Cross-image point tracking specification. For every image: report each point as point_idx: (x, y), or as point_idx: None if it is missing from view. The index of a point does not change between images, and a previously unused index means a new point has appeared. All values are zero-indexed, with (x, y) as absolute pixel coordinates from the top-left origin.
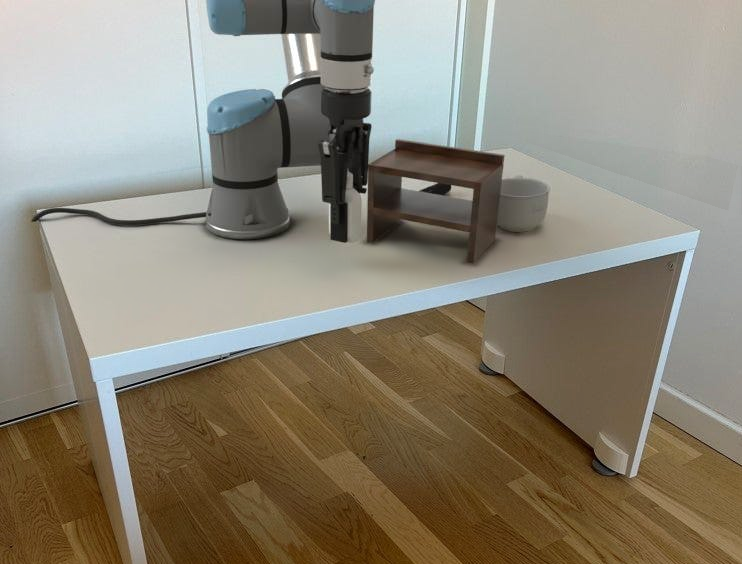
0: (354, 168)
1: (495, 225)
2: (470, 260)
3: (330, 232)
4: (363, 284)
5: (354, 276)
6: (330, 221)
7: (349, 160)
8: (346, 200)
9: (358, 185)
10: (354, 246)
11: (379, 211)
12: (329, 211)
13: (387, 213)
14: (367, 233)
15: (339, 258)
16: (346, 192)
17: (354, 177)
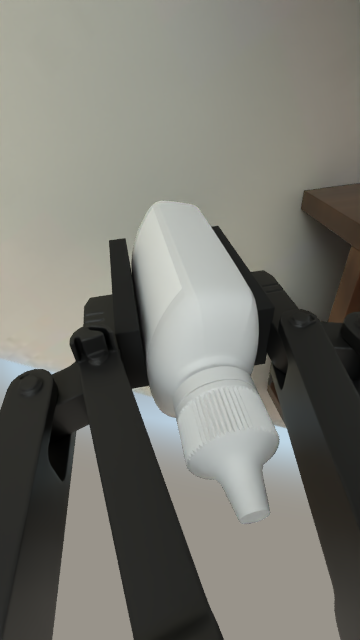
0: (307, 473)
1: None
2: (269, 391)
3: (145, 219)
4: (78, 320)
5: (98, 285)
6: (111, 276)
7: (331, 517)
8: (150, 389)
9: (278, 392)
10: (266, 176)
11: (352, 271)
12: (162, 249)
13: (344, 294)
14: (318, 201)
15: (169, 191)
16: (171, 405)
17: (291, 416)
